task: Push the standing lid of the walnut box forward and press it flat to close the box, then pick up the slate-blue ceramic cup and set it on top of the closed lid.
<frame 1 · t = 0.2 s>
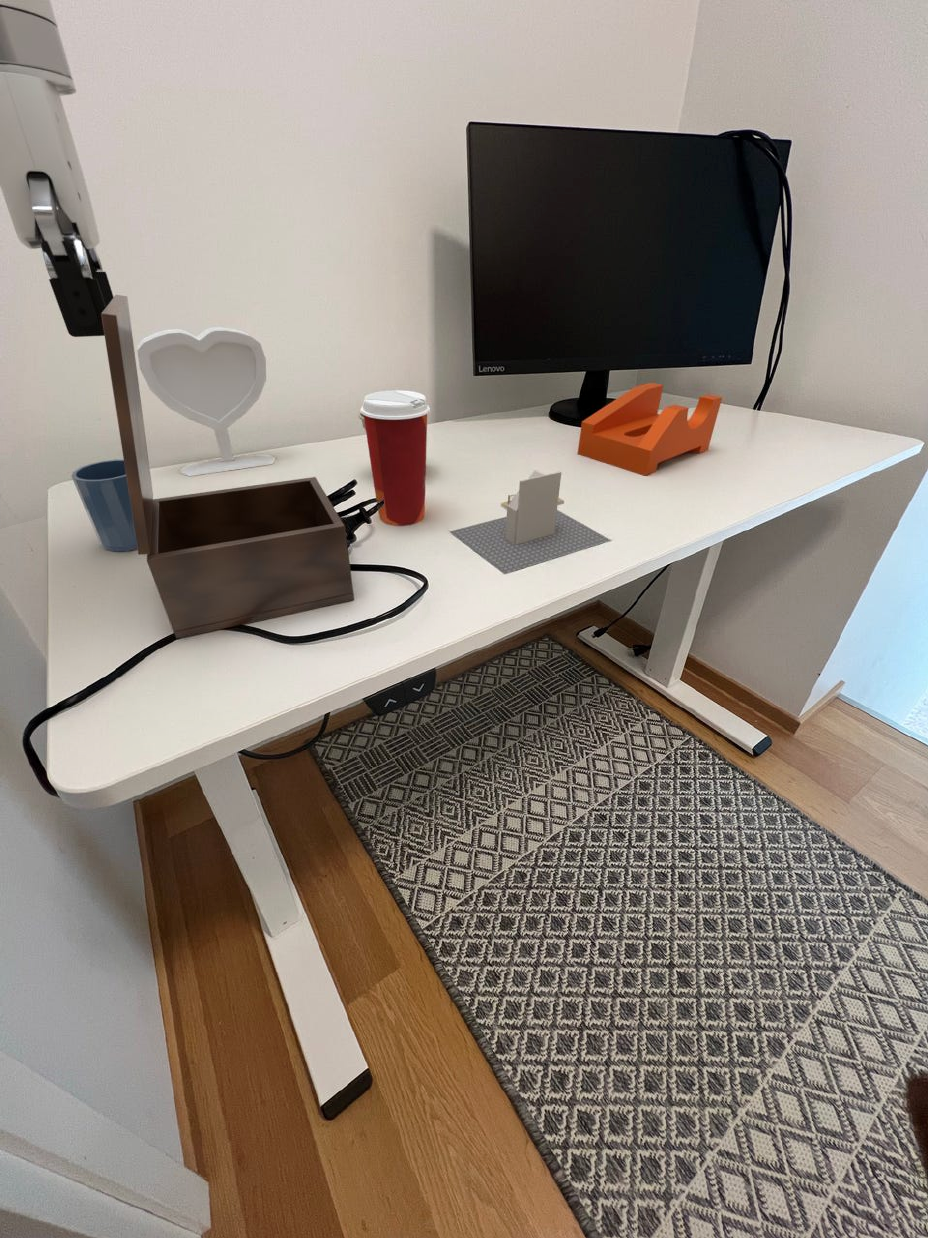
hand: (97, 327, 49), 21 cm above the table, tool pointing down, fingers open, 9 cm apart
architectural model: (529, 537, 63), on the table
box lid: (132, 423, 42), point 16 cm above the table, hinge at 80.0°
heart sculpture: (229, 465, 81), on the table
box: (261, 584, 54), on the table
orange notched block: (643, 453, 88), on the table
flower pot: (396, 474, 79), on the table
cup: (133, 538, 62), on the table
paper cup: (401, 517, 67), on the table
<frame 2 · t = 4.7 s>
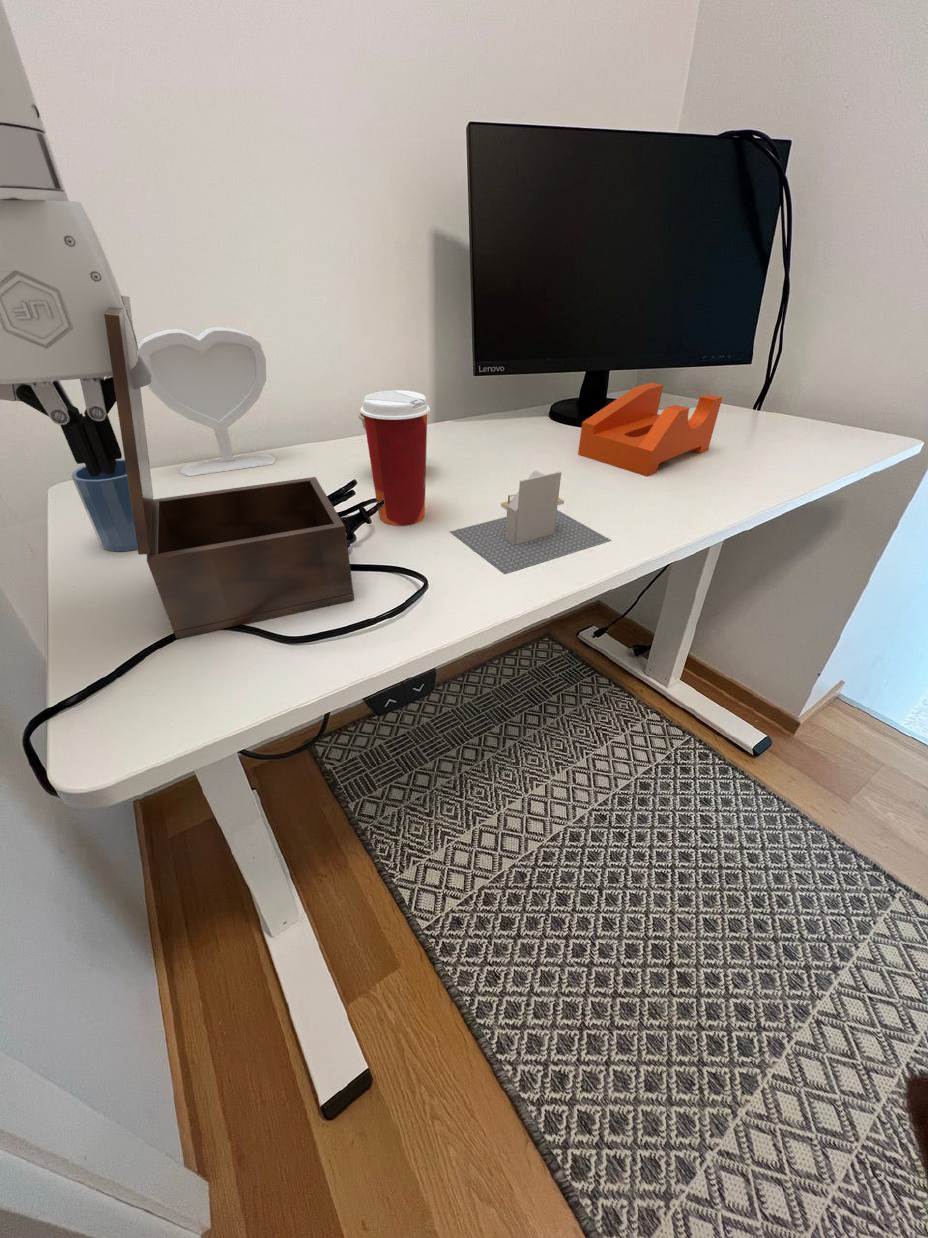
hand: (104, 469, 43), 13 cm above the table, tool pointing down, fingers closed
box lid: (133, 423, 42), point 16 cm above the table, hinge at 79.4°, touching gripper
everything else where it was.
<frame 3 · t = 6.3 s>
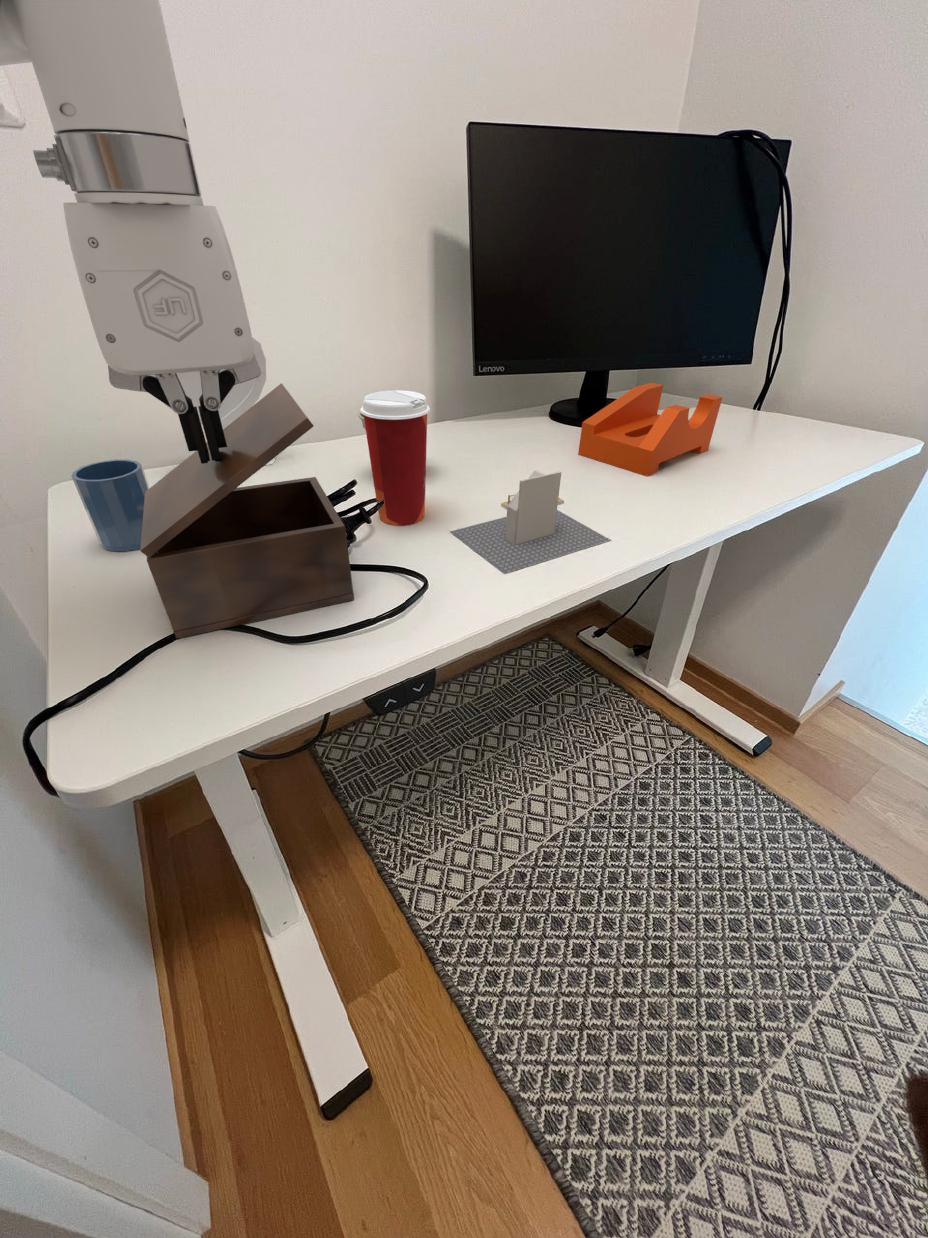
hand: (210, 457, 46), 13 cm above the table, tool pointing down, fingers closed
box lid: (221, 462, 46), point 13 cm above the table, hinge at 31.3°, touching gripper
everything else where it was.
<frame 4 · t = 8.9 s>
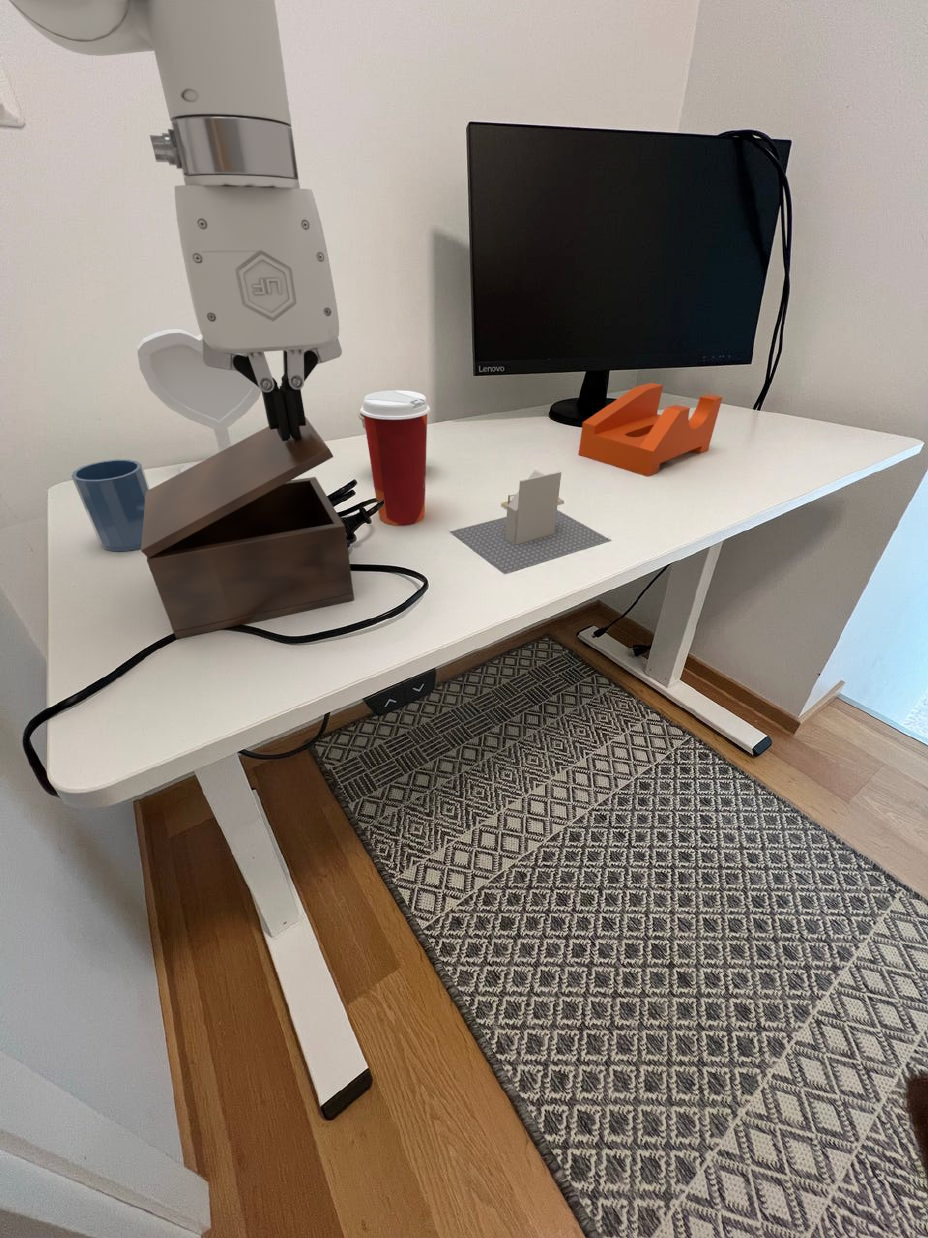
hand: (289, 435, 47), 14 cm above the table, tool pointing down, fingers closed
box lid: (232, 475, 47), point 11 cm above the table, hinge at 21.4°, touching gripper
everything else where it was.
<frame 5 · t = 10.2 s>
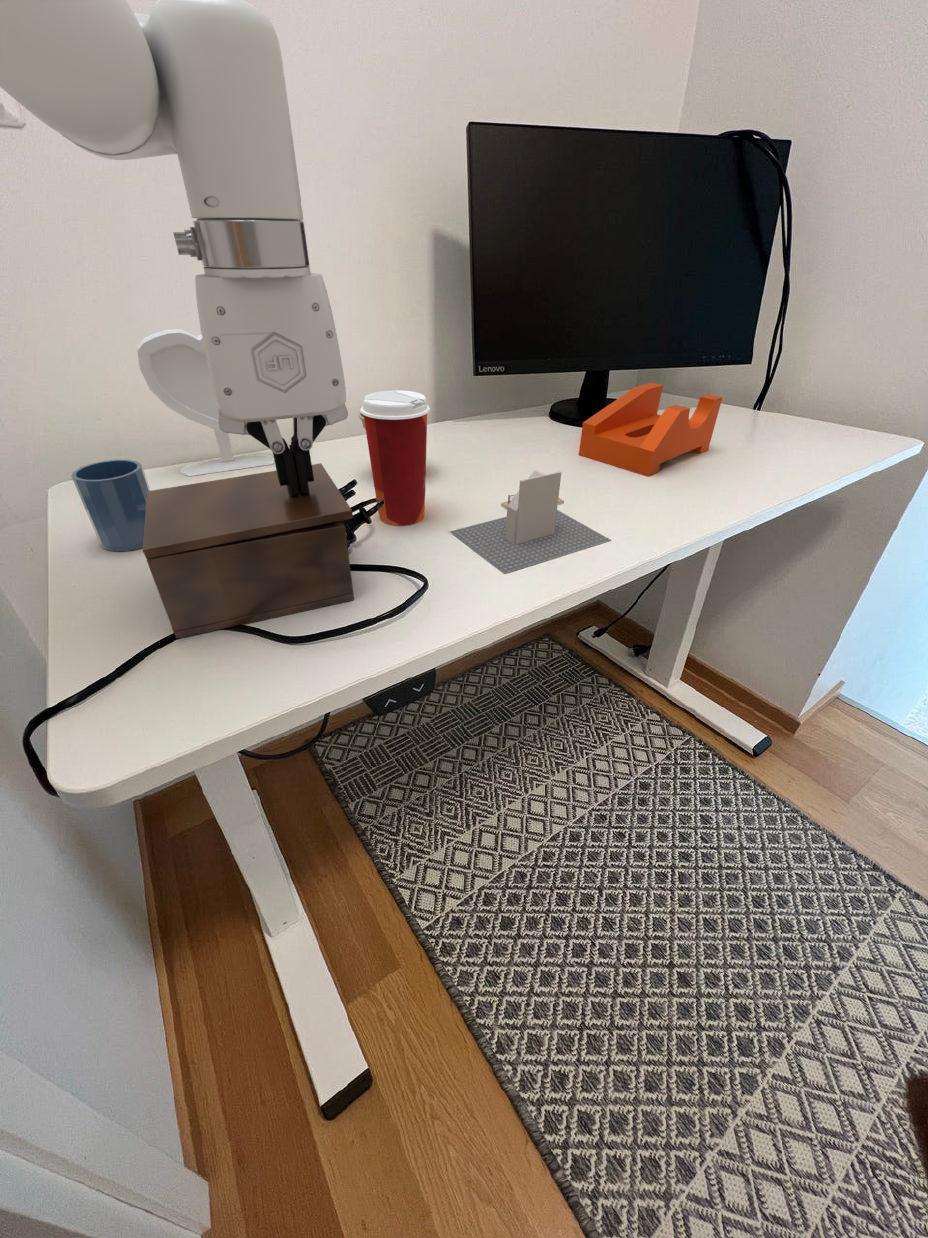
hand: (298, 490, 50), 9 cm above the table, tool pointing down, fingers closed
box lid: (246, 504, 49), point 8 cm above the table, hinge at 1.7°, touching gripper
everything else where it was.
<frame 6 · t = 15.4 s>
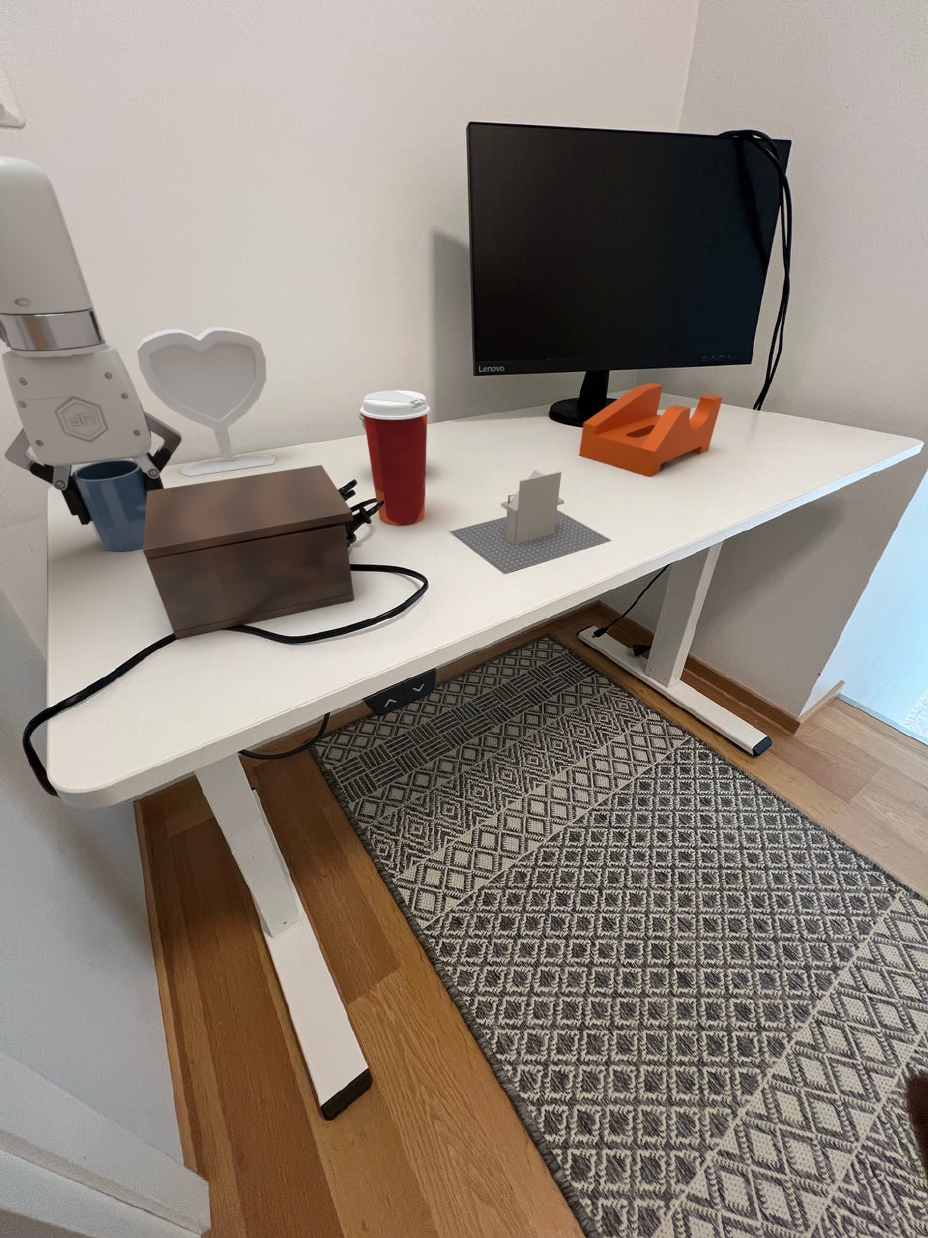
hand: (123, 513, 60), 3 cm above the table, tool pointing down, fingers closed on cup, 6 cm apart
box lid: (246, 505, 49), point 8 cm above the table, hinge at 1.1°
cup: (133, 538, 62), on the table, touching gripper
everything else where it was.
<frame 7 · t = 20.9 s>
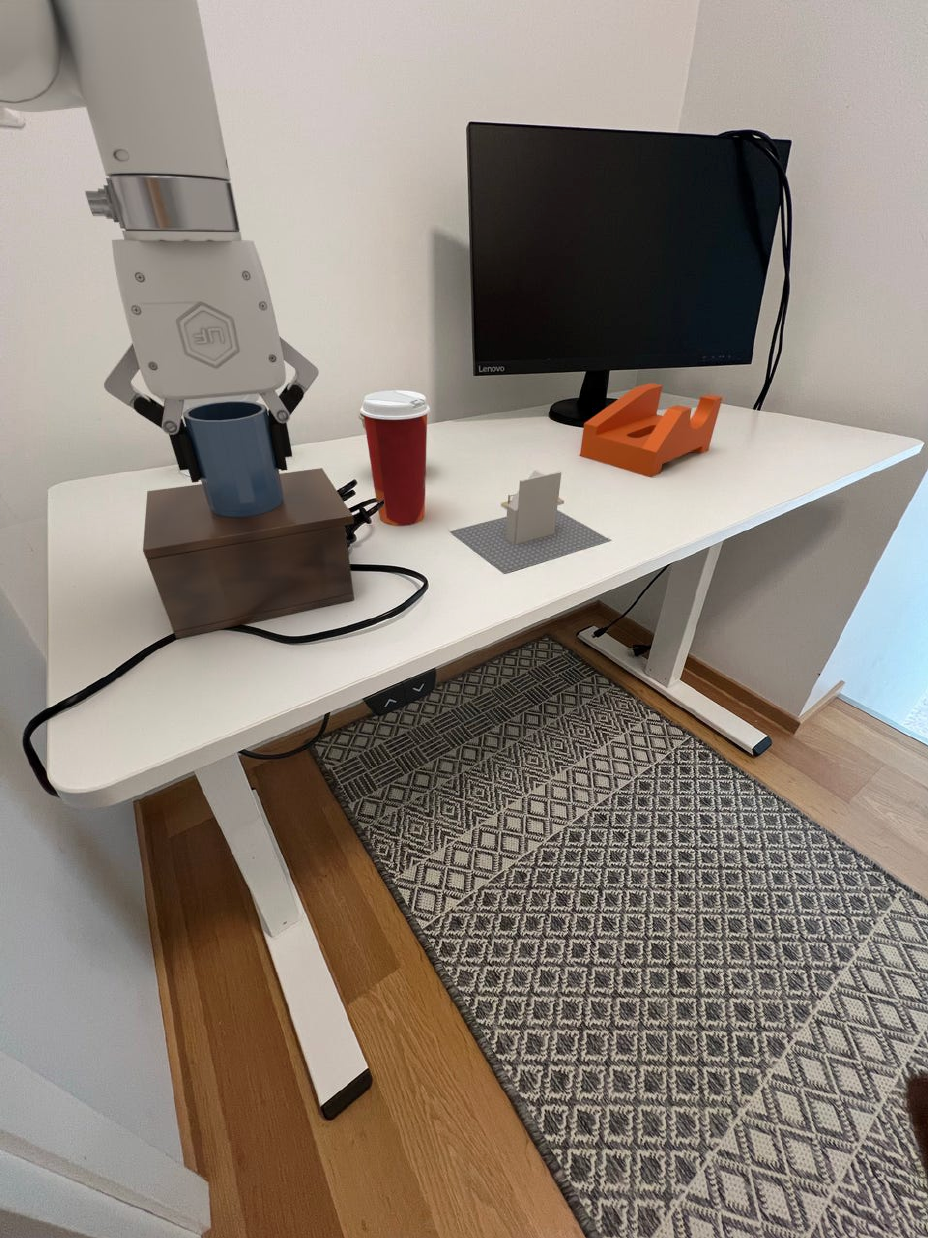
hand: (239, 469, 47), 12 cm above the table, tool pointing down, fingers closed on cup, 6 cm apart
box lid: (246, 506, 49), point 8 cm above the table, hinge at -0.1°, touching cup
cup: (247, 502, 49), point 9 cm above the table, touching box lid, gripper
everything else where it was.
when the fingers open (12 cm above the table, at t = 21.1 s): cup stays where it is, resting on box lid.
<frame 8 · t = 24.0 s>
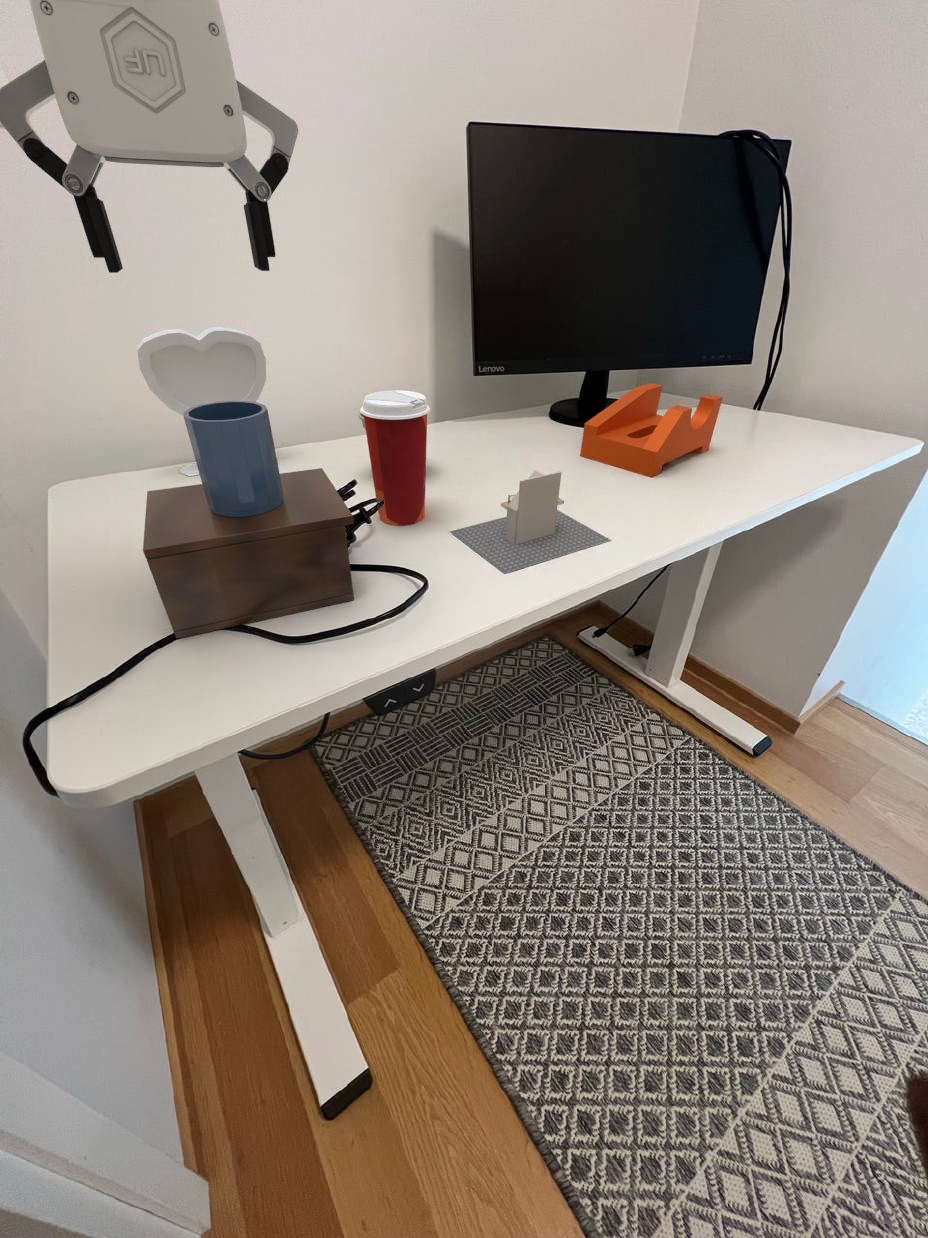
hand: (192, 270, 39), 26 cm above the table, tool pointing down, fingers open, 9 cm apart
cup: (247, 502, 49), point 9 cm above the table, touching box lid
everything else where it was.
at the end: box lid at +0° (first picture: +80°); cup inside the target area on the box (0.5 cm from its centre), point 8.6 cm above the box's base; cup tilted 0° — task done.
